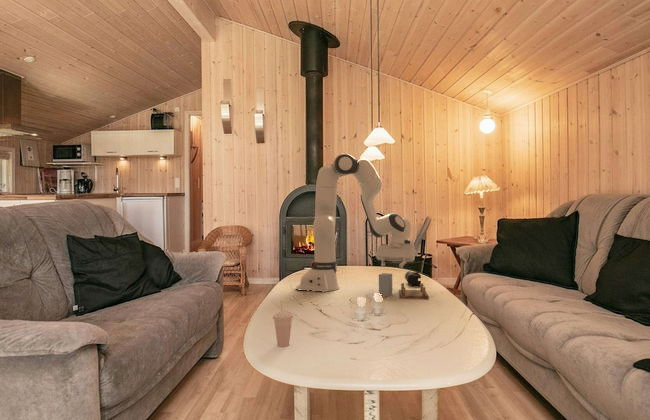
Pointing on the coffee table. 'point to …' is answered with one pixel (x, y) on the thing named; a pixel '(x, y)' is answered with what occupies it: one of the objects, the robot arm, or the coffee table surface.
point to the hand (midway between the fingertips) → (391, 266)
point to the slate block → (385, 284)
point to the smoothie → (283, 327)
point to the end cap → (413, 278)
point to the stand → (413, 293)
